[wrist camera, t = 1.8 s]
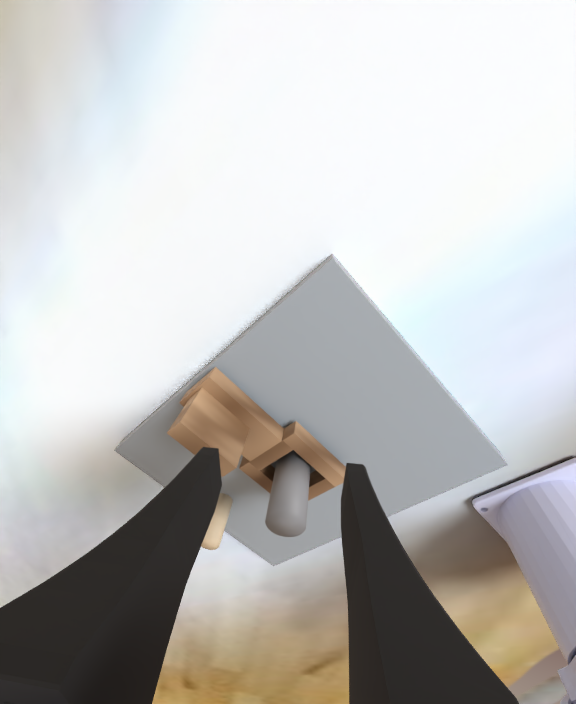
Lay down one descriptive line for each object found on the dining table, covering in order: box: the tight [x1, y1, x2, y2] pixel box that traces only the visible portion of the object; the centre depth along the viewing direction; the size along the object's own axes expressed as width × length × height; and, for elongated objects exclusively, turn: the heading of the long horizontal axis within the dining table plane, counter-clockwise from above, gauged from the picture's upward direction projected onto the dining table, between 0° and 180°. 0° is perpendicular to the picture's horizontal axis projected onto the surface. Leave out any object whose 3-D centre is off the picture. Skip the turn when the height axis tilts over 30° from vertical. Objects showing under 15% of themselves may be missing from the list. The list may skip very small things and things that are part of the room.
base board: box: [114, 254, 508, 566], centre depth 21 cm, size 18×22×6 cm
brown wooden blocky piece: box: [167, 367, 346, 501], centre depth 20 cm, size 11×5×4 cm, turn 43°
